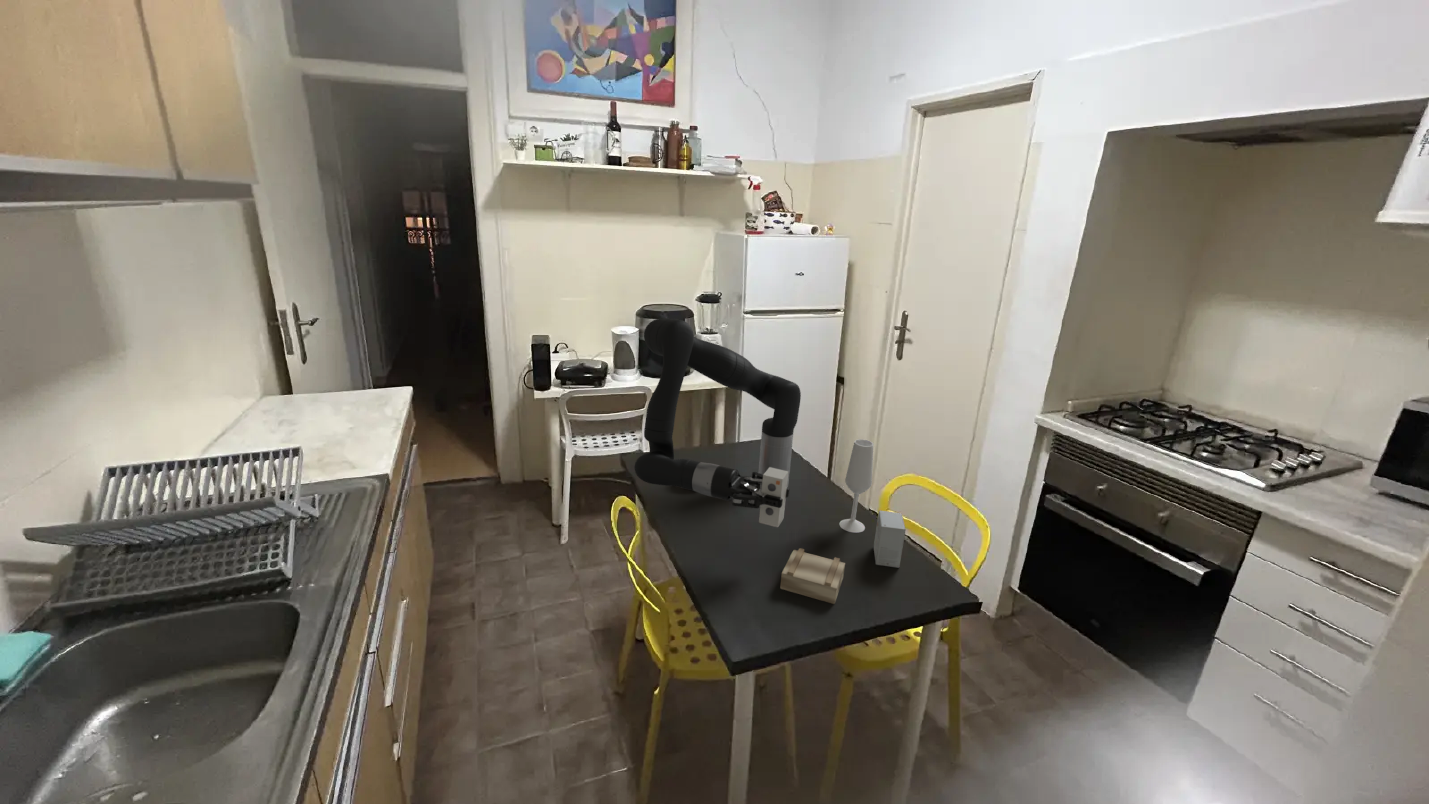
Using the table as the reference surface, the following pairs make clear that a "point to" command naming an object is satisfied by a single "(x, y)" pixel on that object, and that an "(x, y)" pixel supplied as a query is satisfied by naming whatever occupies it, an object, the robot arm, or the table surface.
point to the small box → (889, 539)
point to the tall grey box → (777, 487)
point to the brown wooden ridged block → (813, 576)
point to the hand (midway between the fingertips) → (785, 497)
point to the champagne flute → (858, 479)
